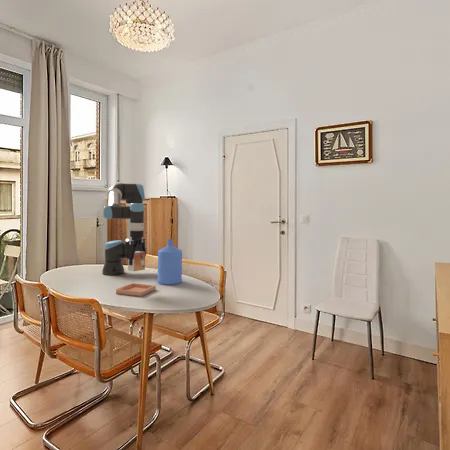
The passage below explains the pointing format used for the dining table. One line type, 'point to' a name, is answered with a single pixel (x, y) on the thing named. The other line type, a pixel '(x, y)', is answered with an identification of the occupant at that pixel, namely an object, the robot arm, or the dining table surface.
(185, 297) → the dining table surface
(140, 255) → the small box
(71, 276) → the dining table surface
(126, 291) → the holder
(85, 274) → the dining table surface
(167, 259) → the water jug
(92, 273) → the dining table surface
